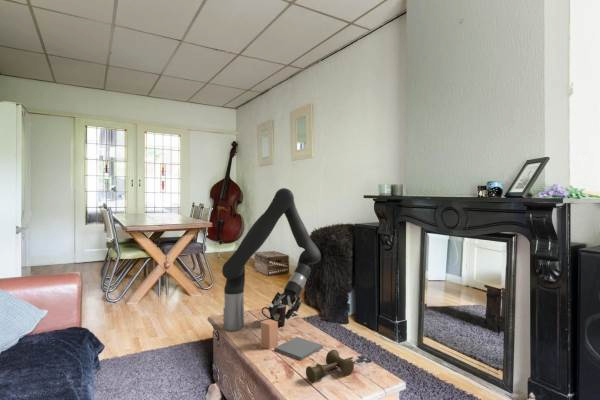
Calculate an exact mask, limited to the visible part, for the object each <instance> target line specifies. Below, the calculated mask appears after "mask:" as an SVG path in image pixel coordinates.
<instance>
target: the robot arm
mask: <svg viewBox="0 0 600 400" xmlns="http://www.w3.org/2000/svg"><path fill="white" fill-rule="evenodd" d="M283 215H284V216H285V217H286V220H287V222H288V225H289V228H290V231H291V233H292V236H293V239H294V240H295V242H296V244H297V246H298V247H299V248H302V249H303V251H302V252H301V253H300V254H299V257H298V261H297V266H296V267H295V269H294V270H293V273H292V275H291V276H290V277H289V279H288V281H287V282H286V284H285V287H284V289H283V292H282V293H280V292H278V291H277V292H276V294H275V295H274V297H273V299H272V300H271V302H270V304H271V303H272V304H273V308H272V309H271V312H269V314H270V313H271V314H272V315H274V314H275V313H276V311H277V309H278V307H280V306H282V305H286V306H288V308H289V309H287V310H286V314H285V320H289V319H290V318H291V316H292V314H293V313H294V312H296V313H297V312H298V311H299V309H300V307H301V304H302V302H303V299H302V298H301V297H300V295H301V293H302V291H303V289H304V287H305V285H306V282H307V280H308V278H309V276H310V274H311V267H310V266H309V265H311V264H317V263H319V262H320V261H321V259H322V255H321V252H320V250H319V248H318V247H317V245H316V244H315V243H314V241H313V240H312V239H311V237H310V235H309V232H308V230H307V227H306V226H305V224H304V222H303V220H302V219H301V216H300V213H298V210H297V206H296V203H295V197H294V194H293V192H292V190H290V189H288V188H286V187H285V188H284V187H283V188H280V189H278V190H277V191H276V192H275V194H274V196H273V199H272V201H271V202H270V204H269V206H268V207H267V209H266V210H265V212H263V213H262V214H261V215H260V216H259V217H258V218H257V219H256V221H255V222H254V223H253V224H252V226H251V227H250V228H249V230H248V231H247V233H246V234H245V236H244V238H243V239H242V241H241V242H240V244H239V246H238V248H236V249H235V251H234V253H233V254H232V255H231V256H230V257H229V258H228V259H227V261H226V262H225V263H224V264H223V266H222V270H221V272H222V275H223V277H224V278H225V280H226V281H225V285H224V290H223V291H224V295H223V296H224V297H223V300H224V307H223V309H222V311H223V312H222V313H223V328H224V330H226V331H228V332H229V331H230V332H232V331H233V332H235V331H241V330H243V329H245V298H244V297H245V295H244V293H245V285H246V284H245V282H246V276H245V275H246V264H247V262H248V261H249V260H250V258H251V257H252V256H254V254H255V253H256V252H257V251H258V250H259V249H260V248H261V247H262V246H263V245H264V243H265V242H266V241H267V239H268V238H269V236H270V235H271V233H272V231H273V230H274V228H275V227H276V225H277V223H278V222H279V219H280V218H281V217H282V216H283ZM278 303H279V304H278ZM277 304H278V305H277Z"/></svg>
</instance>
